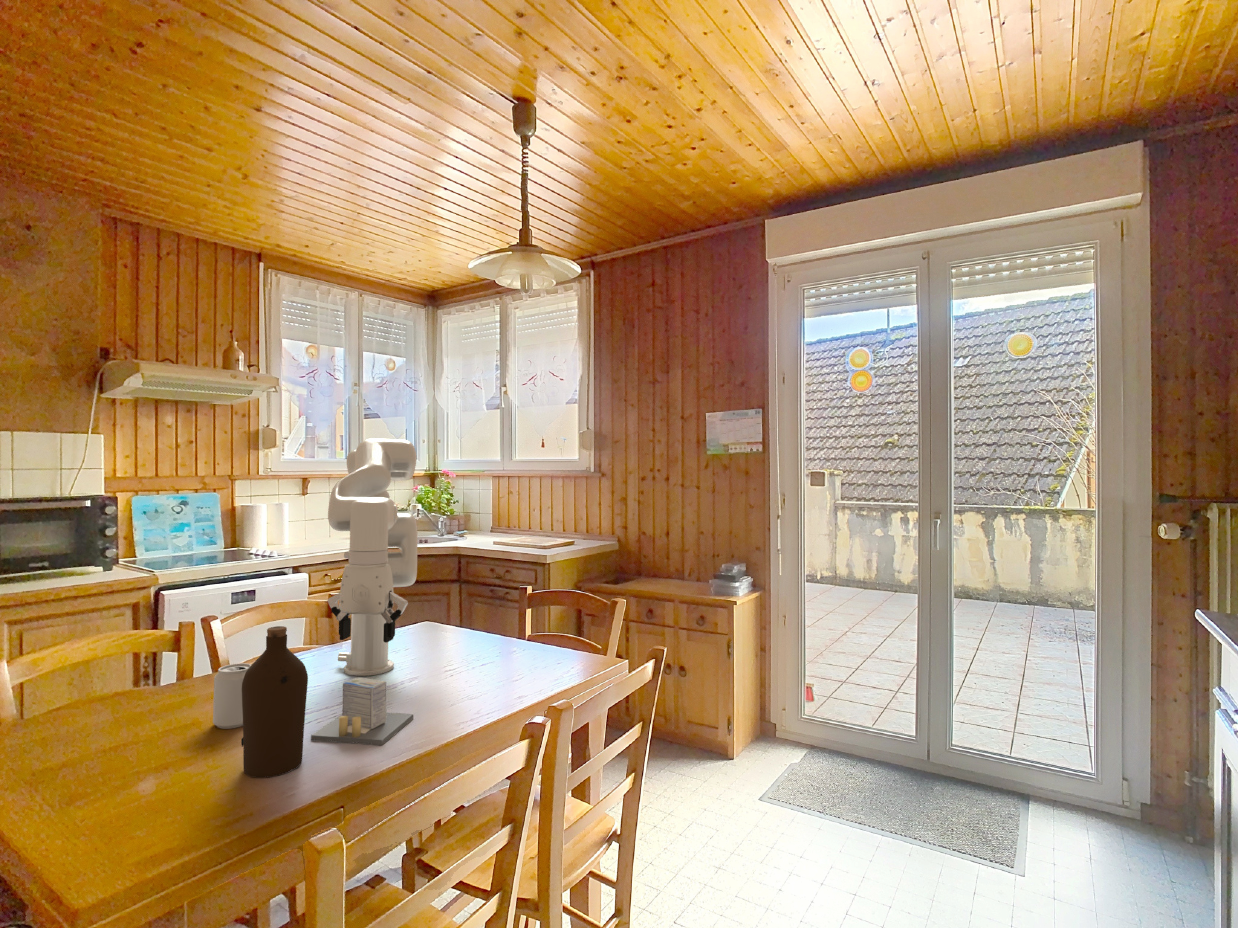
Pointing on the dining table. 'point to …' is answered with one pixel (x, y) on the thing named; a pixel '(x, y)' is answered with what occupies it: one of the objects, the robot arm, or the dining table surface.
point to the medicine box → (365, 701)
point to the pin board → (362, 730)
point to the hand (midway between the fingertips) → (366, 639)
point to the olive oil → (274, 709)
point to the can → (229, 696)
